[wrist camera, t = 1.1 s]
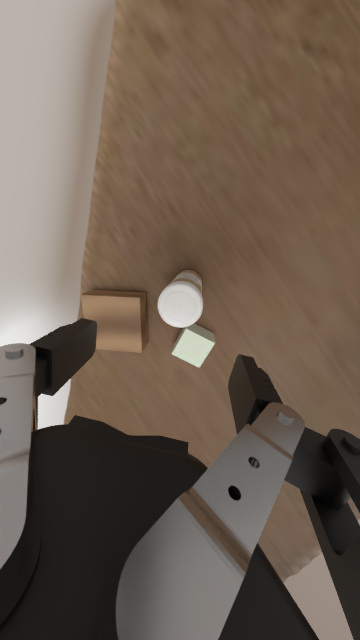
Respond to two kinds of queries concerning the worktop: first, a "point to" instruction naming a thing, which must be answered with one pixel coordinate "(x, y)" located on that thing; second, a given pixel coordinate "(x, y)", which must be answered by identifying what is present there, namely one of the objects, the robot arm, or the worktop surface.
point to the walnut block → (118, 319)
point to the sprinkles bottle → (182, 300)
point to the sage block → (193, 344)
